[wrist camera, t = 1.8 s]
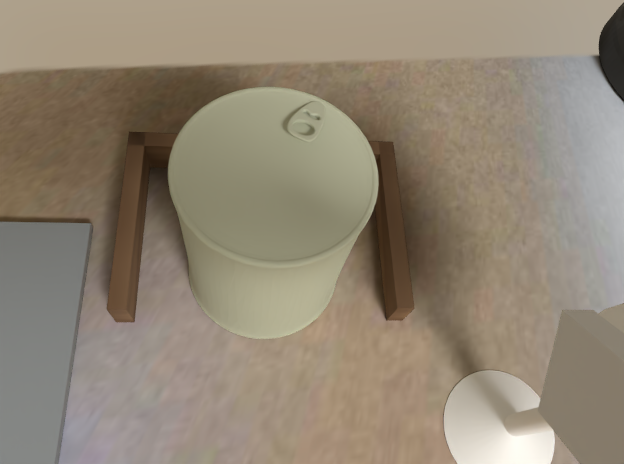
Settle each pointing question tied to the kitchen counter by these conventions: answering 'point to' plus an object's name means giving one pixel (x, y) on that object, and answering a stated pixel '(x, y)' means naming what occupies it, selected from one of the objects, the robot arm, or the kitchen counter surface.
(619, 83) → the robot arm
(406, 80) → the kitchen counter surface
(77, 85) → the kitchen counter surface
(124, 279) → the walnut stall
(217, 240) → the can
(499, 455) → the champagne flute
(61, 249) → the slate tile
